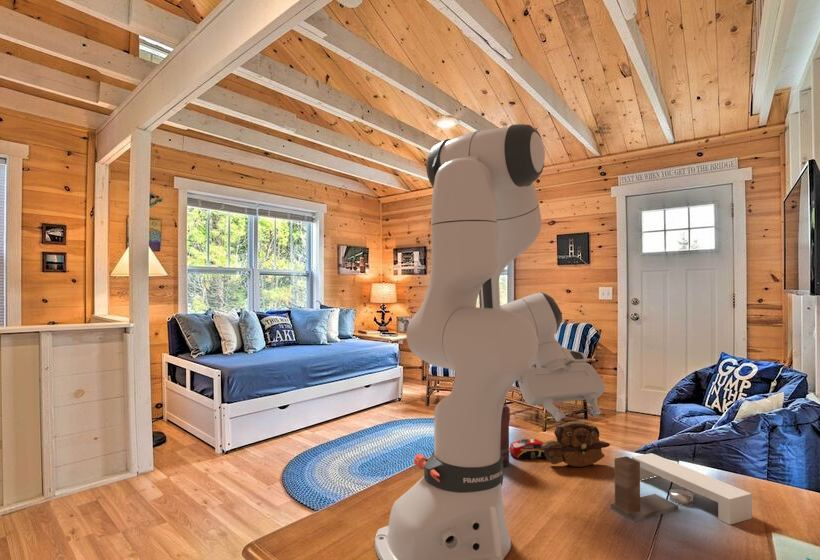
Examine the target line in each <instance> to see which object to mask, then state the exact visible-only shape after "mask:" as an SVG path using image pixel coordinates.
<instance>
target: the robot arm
mask: <svg viewBox="0 0 820 560" xmlns="http://www.w3.org/2000/svg"><path fill="white" fill-rule="evenodd" d="M545 150H546V149H545V145H544V141H543V140H542V136H541V134H540V132H539V131H538V130H537V129H536V128H534V127H533V125H531V124H526V123H525V124H523V123H522V124H521V123H518V124H511V125H510V126H506V127H497V128H491V129H485V130H476V131H472V132H468V133H465V134H463V135H459V136H457V137H453V138H451V139H449V138H446V139H445V140H442V141H440V142H438V143H437V144H435V145H433V146H432V147H431V149H430V151H429V152H428V155H427V157H426V165H425V169H426V175H427V178H428V182H429V184H430V185H431V187H432V194H431V195H432V196H431V207H430V208H431V209H430V211H431V213H430V231H431V236H430V237H431V239H430V240H431V253H430V254H431V259H430V260H431V263H430V264H431V265H430V266H431V267H430V276H429V282H428V285H427V288H426V293H425V296H424V299H423V301H422V304H421V306H420V307H419V309H418V310H417V311H416V312H415V314H413V316H412V317H411V318H410V320H409V322H408V325H407V328H406V342H407V345H408V348H409V350H410V352H411V353H412V354H413V355H414V356H416V357H417V358H418V359H420V360H422V361H423V362H425V363H427V364H429V365H431V366H434V367H439V368H443V369H448V370H452V371H454V373H455V374H454V375H455V376H454V382H453V386H452V389H451V391H450V394H448V395H446V396H445V397H443V398H442V399H441V400H440V401H438V403H437V404H436V406H435V408H434V411H433V416H434V417H433V418H434V419H433V420H434V422H433V423H434V424H433V425H434V426H433V428H434V429H433V431H434V432H433V434H434V435H433V436H434V437H433V439H434V440H433V442H434V443H433V445H434V446H433V447H434V448H433V449H434V450H433V451H432V453H431V455H430V457H429V458H427V457H426V456H424V455H423V454H421V453H418V454H416V455H415V457H414V458H413V463H414V465H415V466H417V468H418V469H419V470H423V474H424V475H423V476H422V477H421V478H420V479H419V480H418V481H417V482H415V484H414V485H412V487H410V488H409V489H408V490H407V491H405V493H403V494H402V495H401V496H400V497H399V498H397V499H395V502H394V503H393V504H392V507H391V509H390V514H389V520H388V525H385V526H382V527H380V528H378V530H377V531H376V533H375V539H374V549H375V553H376V555H377V557H378V560H379V559H380V560H504V559H505V557H506V556H507V555H508V553H509V552H510V550H511V548H512V541H511V537H510V534H509V530H508V526H507V521H506V516H505V510H504V502H503V500H504V499H503V489H502V487H503V486H502V485H503V483H504V467H503V457H502V455H501V454H500V439H501V415H502V409H503V405H504V404H505V402H506V398H507V396H508V393H509V391H510V390H511V388H512V387H513V385H514V384H515V383H516V381H517V382H518V387H519V390H520V393H521V395H522V397H523V400H524V402H525V403H526V404H528V405H529V406H531V407H532V406H540V405H542V407H543V408H544V409H545V410H546V412H548V413H549V414H551V415H552V416H553V418H554V420H555V421H556V422H562V421H563V422H564V421H565V419H566V417H567V416H566V414H565V413H564V410H563V409H559V408H558V407H557V406H555V405H554V404H557V403H565V402H576V401H581V400H582V401H585V402H586V403H587V404H589V407H590V408H589V409H587V412H588V413H589V414H590V416H591V417H599V416H600V415H601V414H602V411H601V409H600V408H599V406H598V402H599V401H598V398H600V397H601V395H603V394H604V392H605V391H606V384H605V383H604V381H603V379H602V377H601V376H600V375H599V374H598V372H597V371H596V369H595V368H594V367H593V366H592V365H591V364H590V363H588V362H587V360H588V358H587V355H586V354H585V353H584V352H580V351H576V350H573V349H569V348H567V347H564V346H562V345H561V344H560V342H558V341H557V340H556V338H555V334H557V333H558V331H559V329H560V327H561V324H562V322H563V314H562V311H561V309H560V308H559V307H560V306H559V305H558V303H556V301H555V299H554V298H553V297H551V295H548V294H547V293H544V292H541V291H540V292H535V293H532V294H529V295H526V296H523V297H520V298H519V299H516V300H512V301H510V302H507V303H503V304H501V299H500V298H501V297H500V277H501V274H502V272H504V270H505V269H506V267H507V266H508V265H509V264H510V263H511V262H512V261H514V260H515V259H516V258H518V257H519V256H520V255H522V254H523V253H524V252H526V251H528V249H529V248H530V247H531V246H532V245H533V244H534V243H535V241H536V240H537V239H538V237H539V235H540V232H541V229H542V215H541V214H542V213H541V210H540V205H539V200H538V199H539V198H538V194H537V191H536V187H535V184H534V182H536V181H537V180H538V178H539V177H540V176H541V174H543V171H544V167H545V160H546V159H545V158H546V153H545V152H546V151H545ZM477 303H479V307H477Z"/></svg>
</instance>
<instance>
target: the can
mask: <svg viewBox="0 0 820 560" xmlns="http://www.w3.org/2000/svg"><path fill="white" fill-rule="evenodd" d="M510 419H511V411H510V407H509V406H508V404H507V403H504V405H503V409H502V415H501V439H500V454H501V455H502V457H503V468H505V467H507V466H508V465H509V463H510V452H509V451H510V449H509V447H510Z"/></svg>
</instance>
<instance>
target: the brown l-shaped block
mask: <svg viewBox="0 0 820 560" xmlns="http://www.w3.org/2000/svg"><path fill="white" fill-rule="evenodd" d="M610 509H611V510H612V511H614V512H616V513H617V514H619V515H621V516H622V517H624V518H625V519H627V520H629V521H631V522H632V523H634V522H637V521H638V522H639V521H643V520H645V519H650V518H653V517H657V516H661V514H662V515H666V514H669V513H673V512H677V511H678V510H679V504H677V503H674V502H673V501H671V500H668V499H666V498H664V497H662V496H660V495H658V494H656V493H653V494H647V495H645V496H644V495H643V496H641V481H640V462H638V461H636V460H634V459H632V457H629V456H620V457H615V458H614V503H610ZM676 510H677V511H676ZM665 513H666V514H665Z"/></svg>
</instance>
